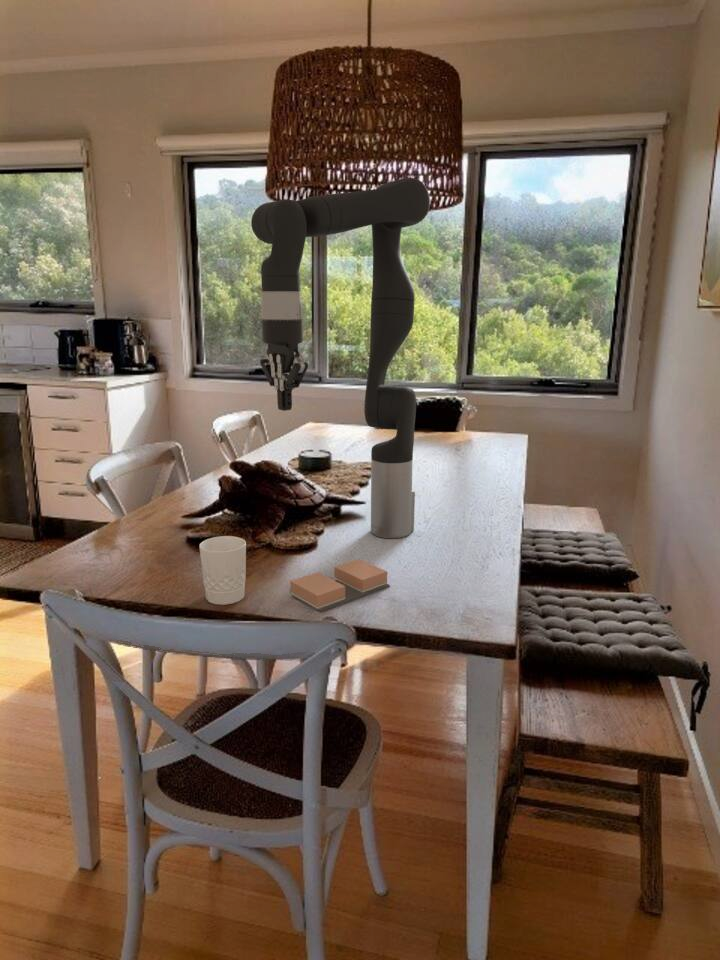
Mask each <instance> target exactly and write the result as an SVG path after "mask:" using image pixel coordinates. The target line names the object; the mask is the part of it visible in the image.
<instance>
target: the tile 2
mask: <svg viewBox="0 0 720 960" xmlns="http://www.w3.org/2000/svg"><path fill="white" fill-rule="evenodd" d="M333 568H334V569H333V570H334V571H333V572H334V573H333V574H334V576H333V577H334V580H335V581H336V580H338V581H340V582H342V583H344V584H346V585H348V586H350V587H352V588H354V589H356V590H358V591H360V592H362V593H363V592H366V591H368V590H371V589H374V588H376V587H379V586H382V585H385V584H388V571H387V570H384V569H383V568H380V567H377V566H376V565H373V564H371V563H369V562H366V561H364V560H362V559H359V558H358V559H355V560H351V561H349V562H344V563H342V564H339V565H336V566H334V567H333Z"/></svg>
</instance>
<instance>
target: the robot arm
mask: <svg viewBox="0 0 720 960" xmlns="http://www.w3.org/2000/svg"><path fill="white" fill-rule="evenodd" d="M430 206H431V197H430V194H429V190H428V188H427V186H426V185H425V183H423V182H422V181H421V180H420V179H418V178H416V177H415V178H414V177H403V178H399V179H395V180H393V181H389V182H386V183H384V184H381V185H379V186H378V187H377V188H376V189H375V188H374V189H370V190H369V189H368V190H361V191H352V192H350V191H349V192H341V193H340V192H339V193H338V192H337V193H330V194H322V195H314V196H310V197H305V198H303V199H299V200H293V199H289V198H288V199H287V198H286V199H285V198H284V199H279V200H275V201H274V200H273V201H270V202H266V203H262V204H261V205H259V206H258V207H257V208H256V209H255V210H254V212H253V213H252V216H251V220H250V221H251V222H250V223H251V225H250V226H251V229H252V233H254V236H255V237H256V238H257V239H259V241H261V242H263V243H265V244H269V245H271V250H270V251H271V252H270V254H269V255H268V257H267V258H265V259H264V260H262V262H261V265H260V274H261V275H260V276H261V278H260V281H261V300H260V311H261V312H260V315H261V338H262V339H261V340H262V342H263V343H264V344H267V350H266V357H265V358H261V359H260V361H259V364H260V365H261V366H260V367H261V368H262V371H263V373H264V375H265V377H266V379H267V382H268V384H269V385H270V387H274V389H275V391H276V394H277V395H276V398H277V409H278V410H279V411H280V410H281V411H282V412H283V411H284V412H285V411H290V410H292V407H293V397H292V395H293V394H292V392H293V390H294V389H297V388H299V387H300V385H301V382H302V380H303V378H304V377H305V375H306V372H307V370H308V368H309V364H308V362H307V361H305V362H304V361H302V360H301V358H300V356H301V355H300V353H301V352H300V350H299V344H302V343H303V339H304V338H303V336H304V335H303V304H302V298H301V297H302V296H301V279H300V277H301V276H300V275H301V274H300V266H301V263H302V260H303V253H304V249H305V243H306V238H317V237H319V238H320V237H325V236H330V235H336V234H340V233H346V232H349V231H353V230H356V229H360V228H365V227H368V226H371V234H372V236H371V237H372V286H371V287H372V288H371V302H370V334H369V335H370V336H369V337H370V340H369V341H370V342H369V343H370V344H369V359H368V360H369V361H368V369H367V377H366V378H367V379H366V386H365V395H364V408H363V409H364V419H365V423H366V424H367V426H369V427H370V428H375V429H392V430H396V435H395V436H394V437H393V438H391V439H388V440H385V441H381V442H379V443H376V444H374V445H372V447H371V452H370V453H371V457H370V459H371V460H370V461H371V462H370V463H371V464H370V466H371V467H370V473H371V474H370V533H371V534H372V535H373V536H376V537H379V538H382V539H384V538H385V539H400V538H405V537H407V536H409V535H410V534H411V533H412V532H414V531H415V506H416V505H415V501H416V500H415V499H416V492H415V490H413V461H414V460H413V457H414V455H413V453H414V446H415V445H414V442H415V425H416V424H415V423H416V413H417V397H416V392H415V391H414V389H413V388H412V387H408V386H393V385H391V386H389V385H385V381H386V377H387V372H388V369H389V366H390V364H391V362H392V360H393V358H394V357H395V355H396V354H397V352H398V350H399V349H400V348H401V346H402V345H403V343H404V342H405V340H406V339H407V337H408V336H409V334H410V332H411V330H412V327H413V325H414V320H415V319H414V314H415V301H416V300H415V298H416V297H415V289H414V285H413V283H412V281H411V278H410V276H409V273H408V272H407V269H406V266H405V263H404V262H403V259H402V254H401V253H402V251H401V237H402V236H401V234H402V229H403V228H408V227H412V226H415V225H417V224H419V223H421V222H422V221H423V220H425V218H426V216H427V215H428V214H429V210H430ZM413 530H414V531H413Z"/></svg>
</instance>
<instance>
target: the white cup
mask: <svg viewBox="0 0 720 960" xmlns="http://www.w3.org/2000/svg"><path fill="white" fill-rule="evenodd" d="M199 555H200V562H201V563H200V564H201V566H200V567H201V572H202V581H203V585H204V593H205V600H207V602H209V603H210V604H213V605H220V606H225V605H231V604H236V603H238V602H240V601H241V600H243V599H244V597H245V595H246V576H247V573H246V572H247V542H246V540H245V539H243V538H242V537H239V536H238V537H237V536H233V535H222V536H214V537H211V538H207V539H204V540H203V541H202V542H200V543H199Z"/></svg>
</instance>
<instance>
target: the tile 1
mask: <svg viewBox="0 0 720 960" xmlns="http://www.w3.org/2000/svg"><path fill="white" fill-rule="evenodd" d="M289 582H290V583H289V585H290V587H289V590H290V595H292V596H293V595H294V596H296V597H298V598H299V599H301V600H303V601H305V602H306V603H308V604H310V605H312V606H313V607H315V608H317V609H319V608H322V607H325V606H327V605H330V604H333V603H336V602H338V601H341V600H344V599H345V586H344V585H342V584H340V583H338V582H336V580H335V579H334V580H333V579H332V578H330V577H328V576H326V575H323V574H322V573H320V572H315V573H310V574H307V575H304V576H302V577H297V578H296V579H291V580H290V581H289Z"/></svg>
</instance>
